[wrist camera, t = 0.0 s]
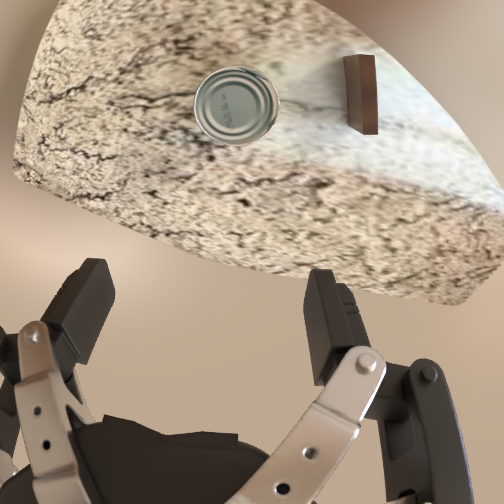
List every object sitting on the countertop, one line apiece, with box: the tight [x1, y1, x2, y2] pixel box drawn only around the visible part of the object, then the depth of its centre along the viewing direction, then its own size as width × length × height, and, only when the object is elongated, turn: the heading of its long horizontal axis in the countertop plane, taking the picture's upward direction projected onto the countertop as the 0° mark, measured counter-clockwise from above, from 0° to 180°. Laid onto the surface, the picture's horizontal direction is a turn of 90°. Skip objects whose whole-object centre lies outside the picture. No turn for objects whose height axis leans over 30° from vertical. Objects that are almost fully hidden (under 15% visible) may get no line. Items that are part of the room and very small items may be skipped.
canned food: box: [193, 65, 280, 146], centre depth 28 cm, size 8×8×12 cm
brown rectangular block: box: [344, 54, 378, 135], centre depth 30 cm, size 10×2×6 cm, turn 7°
